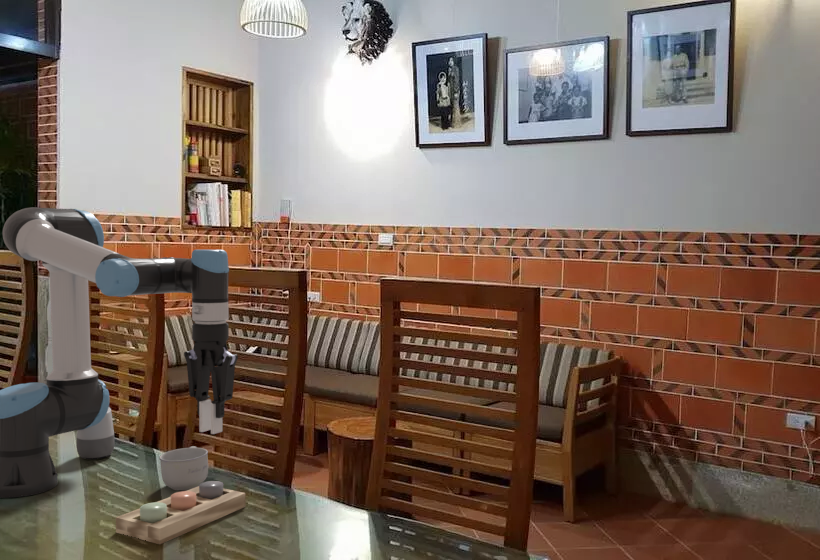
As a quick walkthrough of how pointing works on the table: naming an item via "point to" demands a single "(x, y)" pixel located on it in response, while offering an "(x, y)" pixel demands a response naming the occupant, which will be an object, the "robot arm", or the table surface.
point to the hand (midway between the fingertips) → (210, 431)
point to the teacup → (184, 467)
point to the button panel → (180, 517)
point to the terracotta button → (183, 500)
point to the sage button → (153, 512)
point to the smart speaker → (97, 439)
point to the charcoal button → (211, 489)
